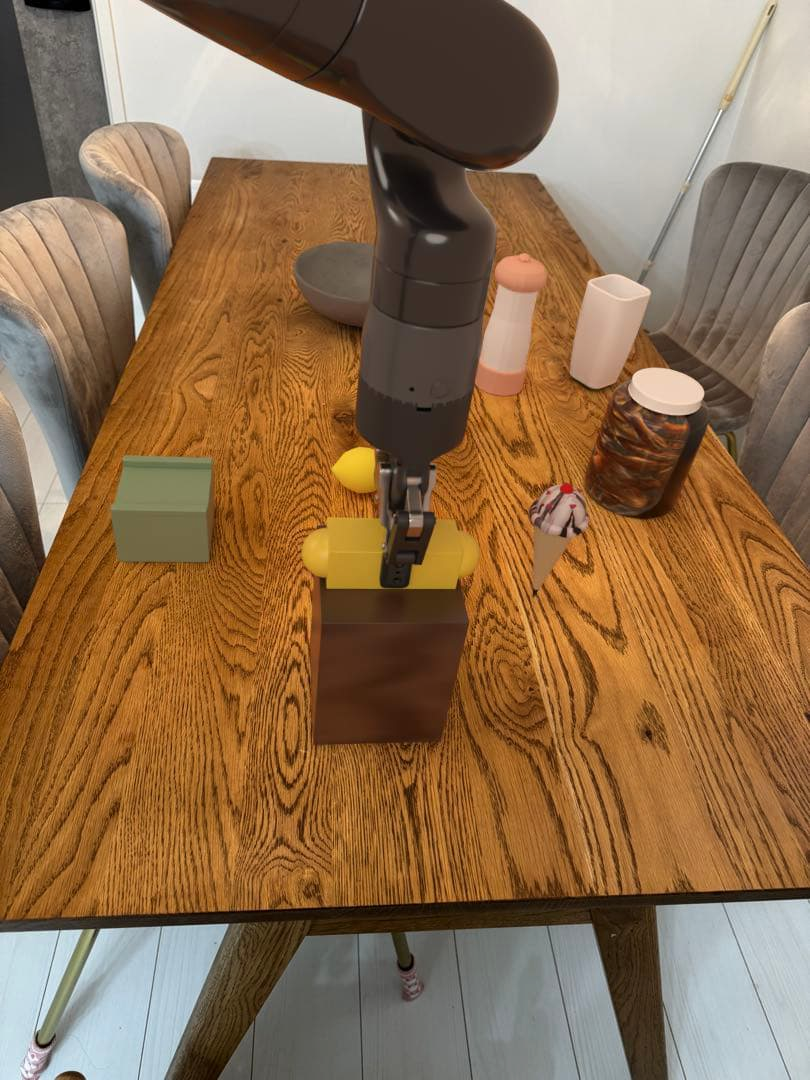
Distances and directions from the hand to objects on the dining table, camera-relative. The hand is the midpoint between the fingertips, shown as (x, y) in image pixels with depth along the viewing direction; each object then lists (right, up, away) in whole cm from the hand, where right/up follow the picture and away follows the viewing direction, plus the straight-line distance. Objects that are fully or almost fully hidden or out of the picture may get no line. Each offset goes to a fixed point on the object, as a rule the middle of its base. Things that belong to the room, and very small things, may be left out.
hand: (390, 563), depth 63 cm
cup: (+29, +26, +60) cm, 71 cm away
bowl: (-6, +37, +67) cm, 77 cm away
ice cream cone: (+15, -4, +22) cm, 27 cm away
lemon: (-4, +8, +33) cm, 34 cm away
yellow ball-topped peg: (0, -1, +1) cm, 1 cm away
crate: (-2, -12, +10) cm, 16 cm away
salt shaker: (+15, +25, +56) cm, 63 cm away
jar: (+29, +8, +39) cm, 49 cm away
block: (-24, +3, +23) cm, 33 cm away
